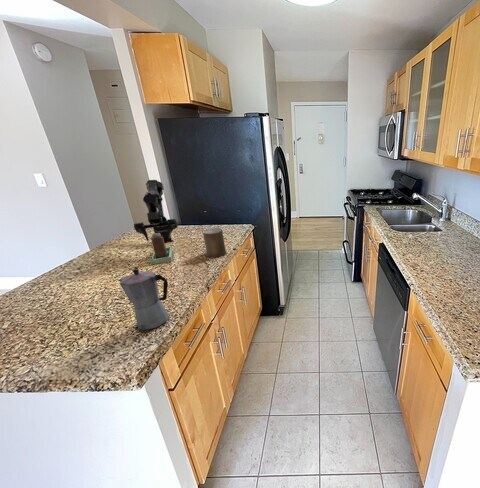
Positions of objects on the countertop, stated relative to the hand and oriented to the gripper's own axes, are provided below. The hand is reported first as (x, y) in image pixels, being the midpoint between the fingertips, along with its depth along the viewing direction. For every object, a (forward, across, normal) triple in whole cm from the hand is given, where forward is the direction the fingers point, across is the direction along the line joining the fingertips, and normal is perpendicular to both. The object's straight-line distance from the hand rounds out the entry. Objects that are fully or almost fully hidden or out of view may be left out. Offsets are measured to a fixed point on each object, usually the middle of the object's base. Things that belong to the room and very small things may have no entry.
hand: (158, 239), depth 133 cm
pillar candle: (+13, +26, +2) cm, 29 cm away
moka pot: (+49, 0, -34) cm, 60 cm away
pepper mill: (+9, 0, +5) cm, 10 cm away
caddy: (+7, 0, +8) cm, 10 cm away
